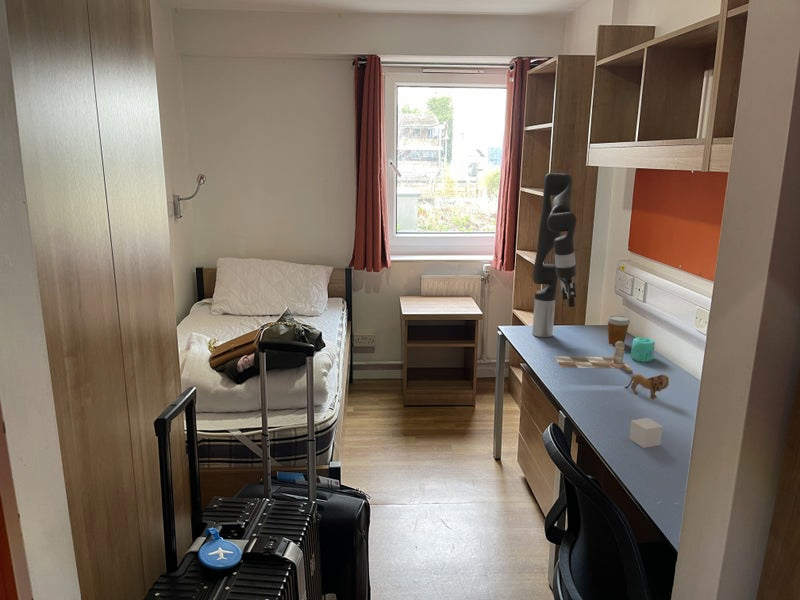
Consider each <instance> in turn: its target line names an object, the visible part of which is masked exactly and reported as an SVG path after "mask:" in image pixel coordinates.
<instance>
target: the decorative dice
mask: <svg viewBox="0 0 800 600" xmlns="http://www.w3.org/2000/svg"><path fill="white" fill-rule="evenodd" d="M654 352H655V341H654V340H653V339H651V338H648V337H635V338H633V340H632V345H631V351H630V358H631V359H632V360H634V361H637V362H640V361H641V363H648V362H652V361H653V358H654Z"/></svg>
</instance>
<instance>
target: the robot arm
mask: <svg viewBox="0 0 800 600" xmlns="http://www.w3.org/2000/svg"><path fill="white" fill-rule="evenodd" d="M572 189H573V179H572V176H571V174H569V173H563V172H562V173H560V172H549V173H547V174H545V176H544V182H543V194H542V195H543V196H542V207H541V208H542V210H541V216H540V222H539V228H538V229H539V230H538V238H537V245H536V246H537V249H536V254H535V260H534V265H533V269H532V280H533V283H534V285H535V284H536V285H547V286H546V287H544V288H542V289H540V290H537V291H536V292H535V293H534V300H533V301H534V304H533V317H532V319H533V320H532V331H531V332H532V333H531V334H532V336H535V337H539V338H551V337H552V336H553V332H554V319H555V309H556V298H557V297H556V295H557V288H558V287H557V285H558V281H559V287H560V290H561V295H562V300H567V302H568V303H567V304H568V307H569V308H574V307H575V303H576V302H575V298H577V294H576V292H577V291H576V284H575V282H574V280H573V279H572V278H573V277H575V276H576V275H577V266H576V265H577V264H576V256H575V248H574V235H575V230H576V227H577V226H576V225H577V221H578V219H577V216H576V215H575V213H574V212H572V211H571V197H572ZM551 196H554V198H553V200H552V197H551ZM563 232H566V233H565V234H564V235H562V234H561V233H563ZM561 235H562V236H561ZM553 249H554V263H544V262H545V261H546V260H545V259H546V258H547V256H548V255H549V253H550V252H551V251H552V250H553Z"/></svg>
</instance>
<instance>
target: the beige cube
mask: <svg viewBox="0 0 800 600" xmlns="http://www.w3.org/2000/svg"><path fill="white" fill-rule="evenodd" d="M662 434H663V425H661V424H659V422H656V421H655V420H653V419H651V418H649V417H645V418H639V419H632V420H631V423H630V430H629V440H631V441H632V442H634V443H635V444H636V445H638V446H640V447H641V448H643V449H646V448H651V447H656V446H657V447H658V446H661V443H662Z"/></svg>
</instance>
